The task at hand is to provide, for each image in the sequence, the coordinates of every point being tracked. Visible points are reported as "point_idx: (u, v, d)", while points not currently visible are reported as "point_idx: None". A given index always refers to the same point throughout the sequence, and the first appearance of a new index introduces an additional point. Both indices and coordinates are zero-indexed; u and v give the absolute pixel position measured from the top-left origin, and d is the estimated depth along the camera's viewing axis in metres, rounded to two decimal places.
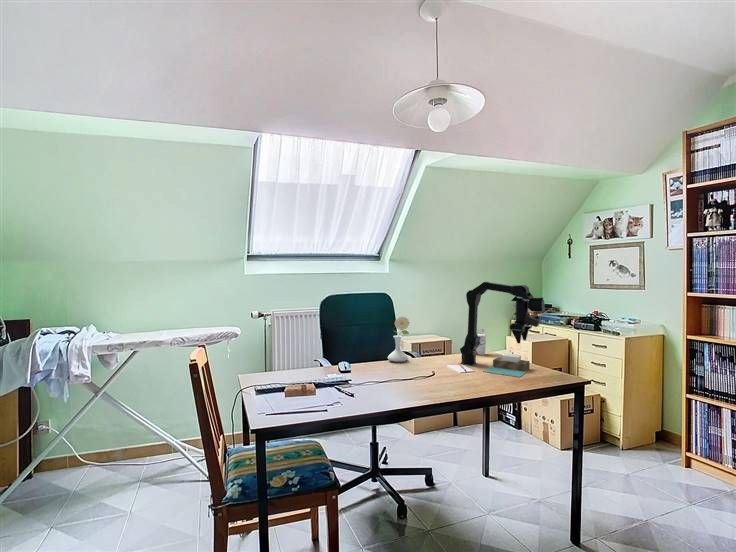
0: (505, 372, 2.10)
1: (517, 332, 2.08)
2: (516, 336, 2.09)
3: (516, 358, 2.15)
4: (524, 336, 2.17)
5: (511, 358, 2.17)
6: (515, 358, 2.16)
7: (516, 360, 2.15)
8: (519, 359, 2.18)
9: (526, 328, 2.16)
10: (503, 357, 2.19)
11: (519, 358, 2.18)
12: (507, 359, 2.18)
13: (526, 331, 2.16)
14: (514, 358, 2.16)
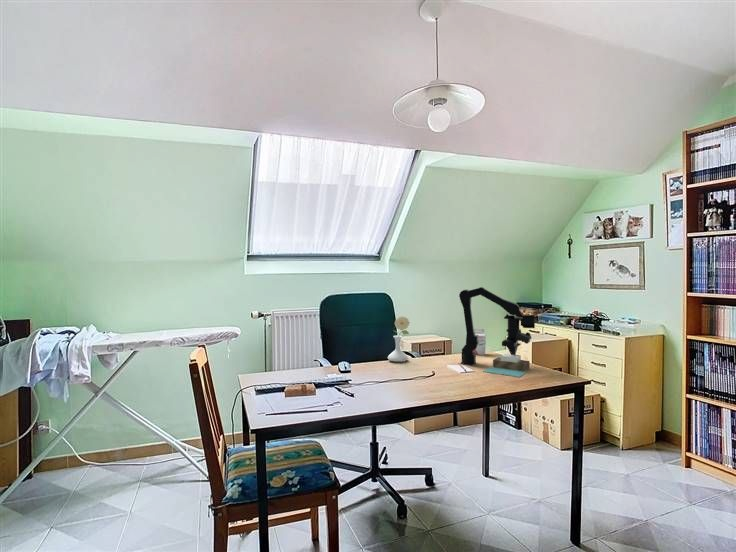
0: (505, 372, 2.10)
1: (512, 347, 2.21)
2: (511, 351, 2.22)
3: (516, 358, 2.14)
4: None
5: (511, 358, 2.16)
6: (515, 358, 2.15)
7: (516, 360, 2.15)
8: (519, 359, 2.17)
9: None
10: (502, 357, 2.18)
11: (519, 358, 2.17)
12: (507, 359, 2.17)
13: None
14: (514, 358, 2.15)
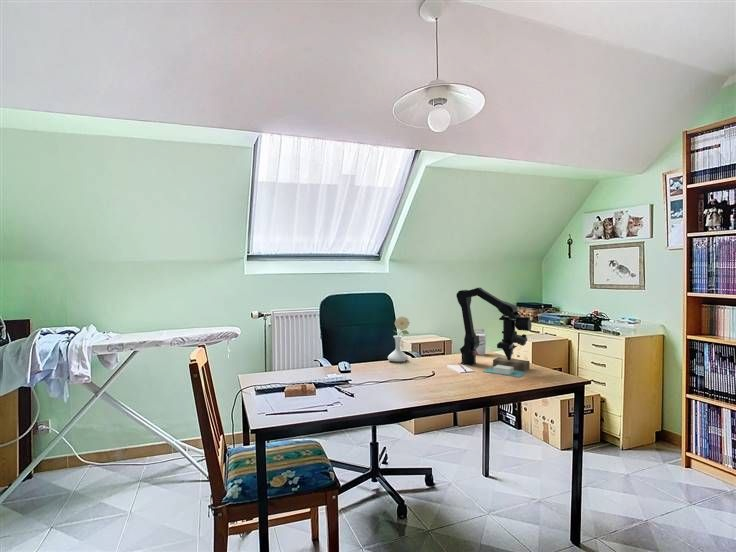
0: None
1: (507, 349, 2.16)
2: (506, 353, 2.16)
3: None
4: None
5: None
6: None
7: None
8: (511, 370, 2.08)
9: None
10: None
11: (511, 371, 2.08)
12: None
13: None
14: None
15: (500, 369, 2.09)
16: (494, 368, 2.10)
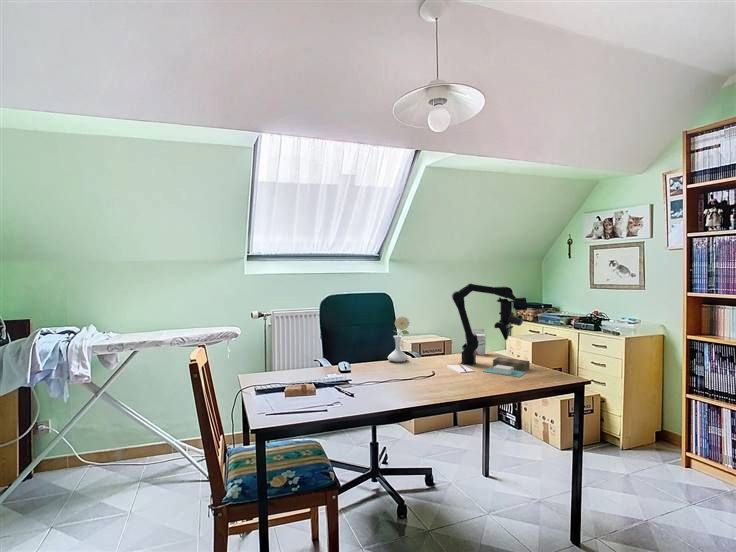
0: None
1: (504, 329, 2.27)
2: (503, 333, 2.27)
3: None
4: None
5: None
6: None
7: None
8: (511, 370, 2.08)
9: None
10: None
11: (511, 371, 2.08)
12: None
13: None
14: None
15: (500, 369, 2.09)
16: (494, 368, 2.10)
